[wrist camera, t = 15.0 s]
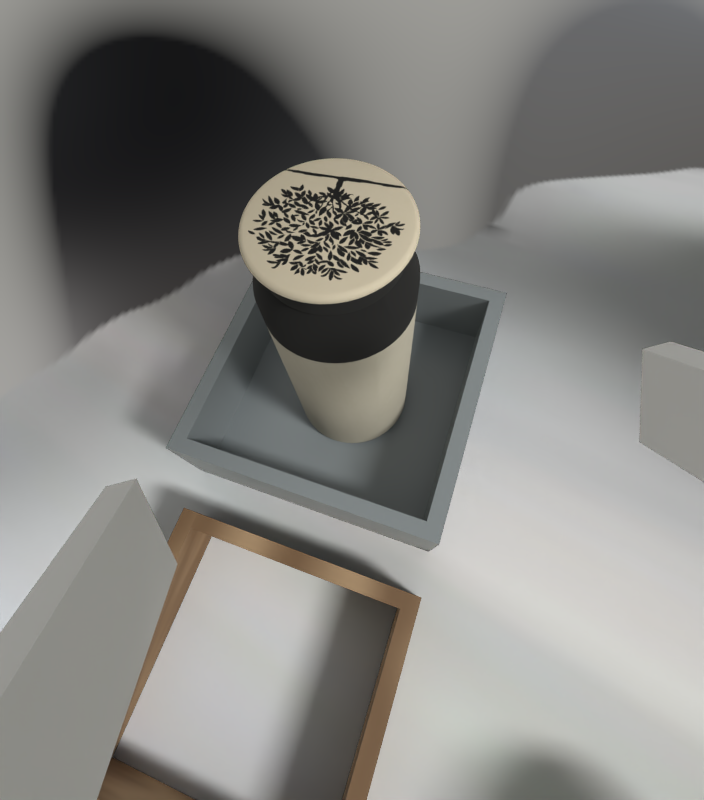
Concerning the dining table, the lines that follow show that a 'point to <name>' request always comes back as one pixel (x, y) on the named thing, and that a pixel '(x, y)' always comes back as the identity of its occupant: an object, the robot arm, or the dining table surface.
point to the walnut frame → (145, 796)
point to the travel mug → (338, 289)
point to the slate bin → (338, 461)
